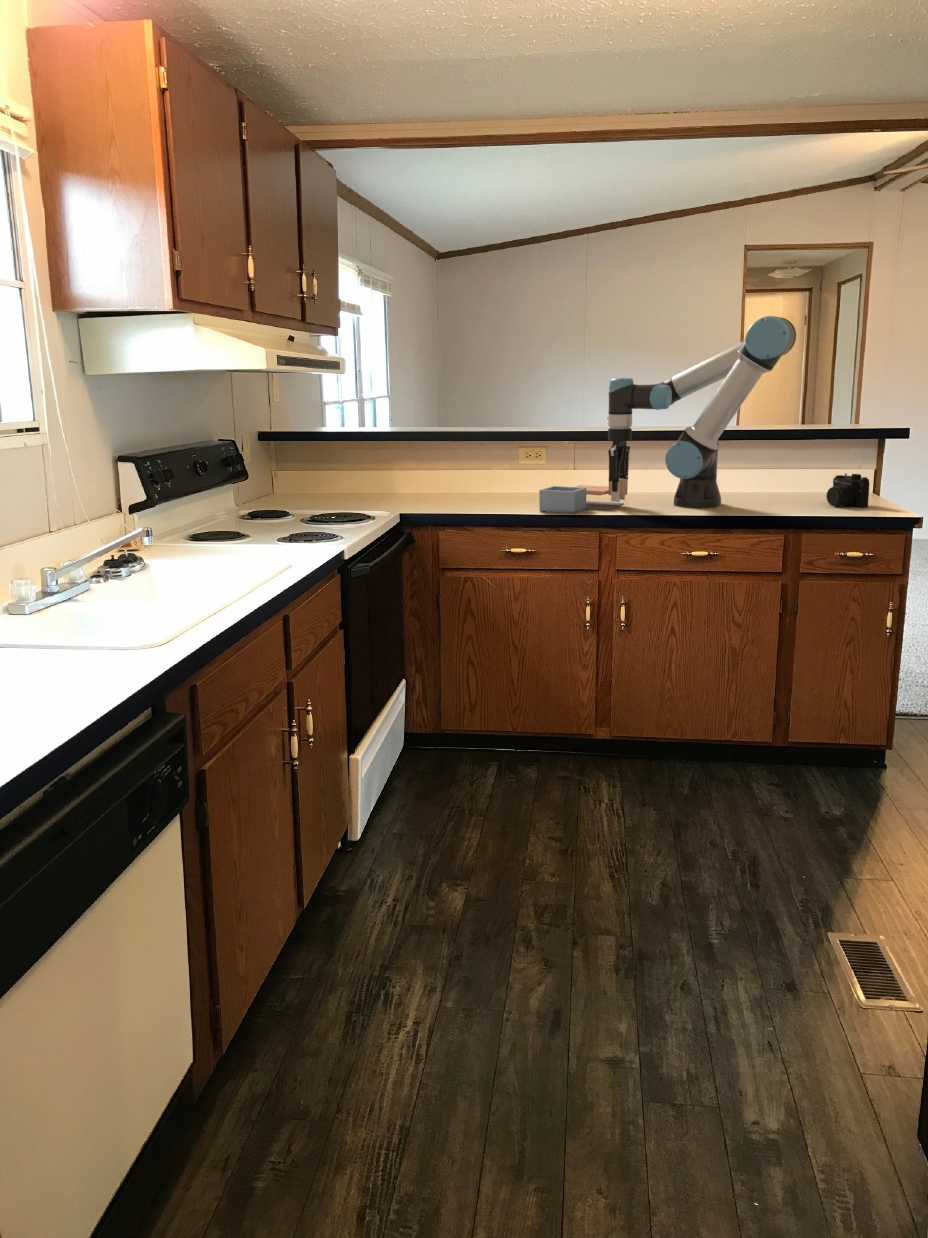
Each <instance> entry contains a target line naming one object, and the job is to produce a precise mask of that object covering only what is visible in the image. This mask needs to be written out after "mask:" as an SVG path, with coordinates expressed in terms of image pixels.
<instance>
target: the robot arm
mask: <svg viewBox="0 0 928 1238" xmlns="http://www.w3.org/2000/svg"><path fill="white" fill-rule="evenodd" d="M796 340H797V331H796V328H795V326H794V324H793V323H792V322H791V321H790V320H789V319H787V318H785V317H782V316H781V317H780V316H779V317H778V316H776V315H775V316H774V315H773V316H772V315H767V316H764V317H760V318H759V319H756V320H755V321H754V322H753V323H752V324H751V325H749V327H748V329H747V331H746V333H745V337H744V340H743V341H741V342H738V343H737V344H735V345H733V346H731V347H729V348H727V349H725V350H723V351H722V352H719V353H717V354H716V355H713V356H711V357H709V358H707V359H706V360H704V361H701V362H699V363H698V364H696V365H693V366H692V367H690V368H688V369H686V370H684V371H681V372H680V373H678V374H675V375H674V376H672V377H670V378H667V379H666V380H663V382H662V381H661V382H660V383H659V382H658V383H654V384H653V383H652V384H635V382H634V379H633V378H631V377H614V378H611V379H610V381H609V386H608V416H607V418H606V419H607V420H608V423H607V424H608V429H607V439H608V441H612V444H611V449H610V448H609V449H608V450H607V451H608V482H609V481H612V482H611V495H610V502H613V503H621V502H620V501H621V500H623V501H625V500H626V495H624V496H620V481H619V478H624V479H629V464H630V463H629V462H630V449H631V447H630V445H628V443H627V441H631V440H632V439H633V438H632V437H633V435H632V434H633V429H632V426H633V410H637V409H638V410H656V411H659V410H667V409H669V408H670V406H672V405H673V404H675V403H676V402H677V401H680V400H682V399H683V398H686V397H687V396H690V395H692V394H694V393H696V392H698V391H701V390H702V389H704V388H706V387H708V386H710V385H712V384H715V383H716V382H719V381H721V380H723V381H722V382H721V384H720V385H719V386H718V388H717V389H716V392H715V393H714V394H713V396H712V397H711V398H710V399H709V401H708V403H707V405H706V406H705V408H704V409H703V411H701V413H700V414H699V416H698V417H697V419H696V421H695V422H694V424H693V425H691V426H687V427H685V428H684V430H683V432H682V433H681V435H679V437H678V439H677V440H676V442H674V443H672V444H671V446H669V447H668V449H667V450H666V453H665V459H664V461H665V466H666V469H667V470H668V471H669V473H670V474H671V475H673V476H674V477H675V478H678V479H679V482H678V485H677V488H676V491H675V494H674V497H673V505H674V506H677V507H682V508H698V509H699V508H701V509H702V508H715V507H719V506H721V505H722V497H721V493H720V489H719V485H718V481H717V479H718V478H717V475H718V457H719V454H718V453H719V445H720V443H719V438H720V437H721V436H722V434H723V433H724V431H725V430H726V428H727V427H728V425H729V424H730V422H731V421H732V419H733V418H734V417H735V415H736V413H738V411H739V409H740V408H741V407H742V405H743V403H744V402H745V401H746V399H747V398H748V396H749V394H750V393H751V392H752V390H753V389H754V387H755V386H756V385H757V383H758V382H759V380H760V379H761V377H762V375H764V374H766V373H770V372H772V370H773V369H774V368H775V366H776V365H777V364H778V362H779V361H780V359H781V358H782V356H785V355H787V354H789V352H790V351H791V350H792V349H793V348H794V346H795V344H796Z"/></svg>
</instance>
